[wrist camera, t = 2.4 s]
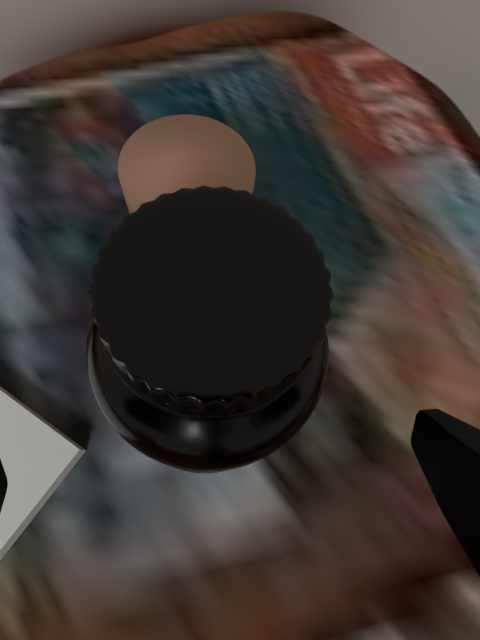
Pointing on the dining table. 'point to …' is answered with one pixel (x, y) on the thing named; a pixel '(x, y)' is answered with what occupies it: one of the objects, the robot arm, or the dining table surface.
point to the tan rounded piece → (183, 158)
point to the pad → (29, 465)
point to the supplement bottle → (208, 328)
